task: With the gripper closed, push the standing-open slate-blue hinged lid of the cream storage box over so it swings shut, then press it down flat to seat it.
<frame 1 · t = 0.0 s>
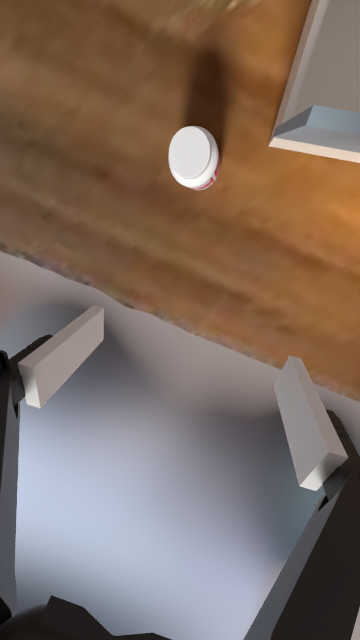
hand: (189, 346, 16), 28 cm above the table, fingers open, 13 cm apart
pill bottle: (200, 167, 34), on the table
box: (358, 76, 27), on the table
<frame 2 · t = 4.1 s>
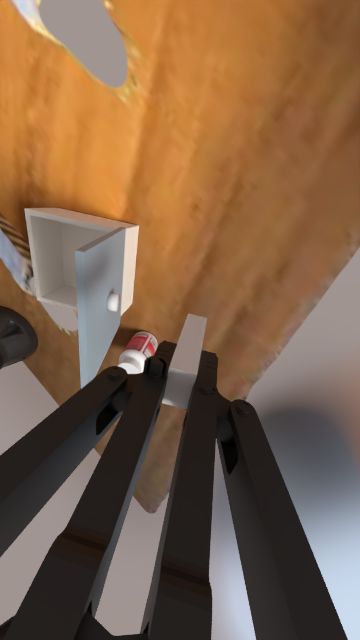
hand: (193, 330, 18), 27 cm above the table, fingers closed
pill bottle: (145, 341, 53), on the table
lid: (110, 301, 30), point 16 cm above the table, hinge at 100.0°
box: (97, 259, 45), on the table
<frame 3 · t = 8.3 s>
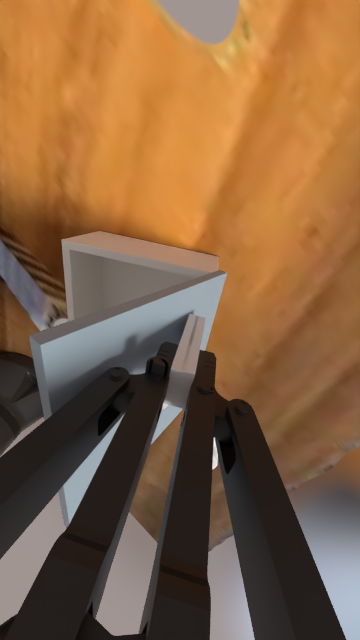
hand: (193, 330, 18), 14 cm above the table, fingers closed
lid: (160, 389, 18), point 16 cm above the table, hinge at 64.7°, touching gripper
box: (151, 299, 33), on the table
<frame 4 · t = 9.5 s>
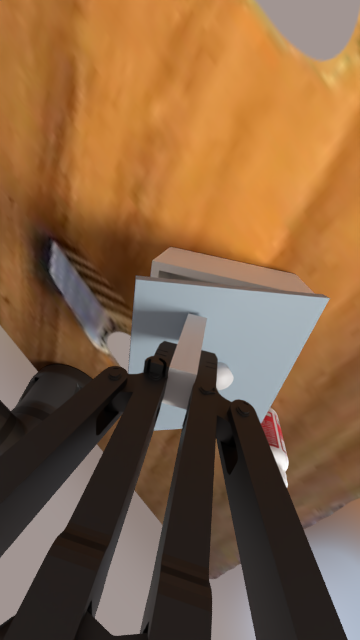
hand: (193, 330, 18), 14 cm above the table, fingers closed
pill bottle: (258, 414, 39), on the table
lid: (217, 373, 21), point 12 cm above the table, hinge at 21.6°, touching gripper
box: (215, 315, 32), on the table
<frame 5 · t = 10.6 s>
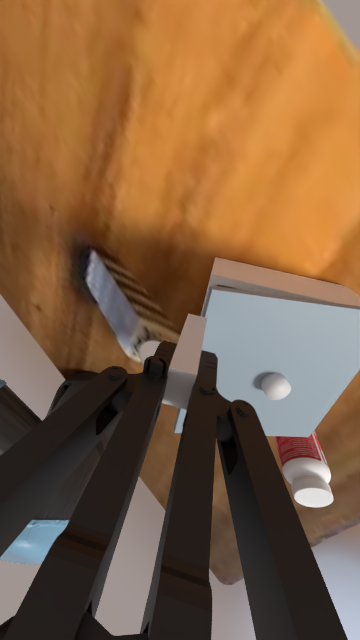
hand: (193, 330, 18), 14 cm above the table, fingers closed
pill bottle: (291, 424, 39), on the table
lid: (273, 383, 21), point 11 cm above the table, hinge at 15.7°
box: (256, 325, 32), on the table
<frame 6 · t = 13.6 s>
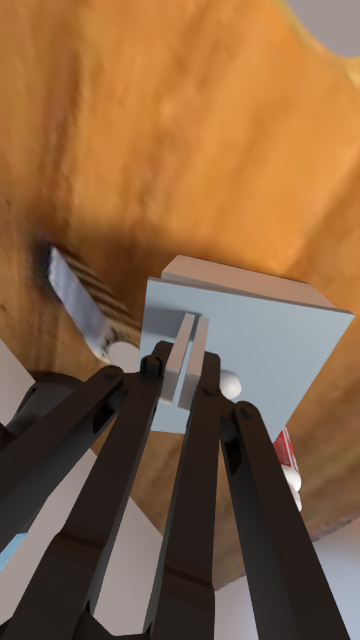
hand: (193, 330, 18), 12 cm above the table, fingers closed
pill bottle: (266, 428, 38), on the table
lid: (225, 381, 21), point 11 cm above the table, hinge at 11.1°, touching gripper
box: (224, 326, 30), on the table
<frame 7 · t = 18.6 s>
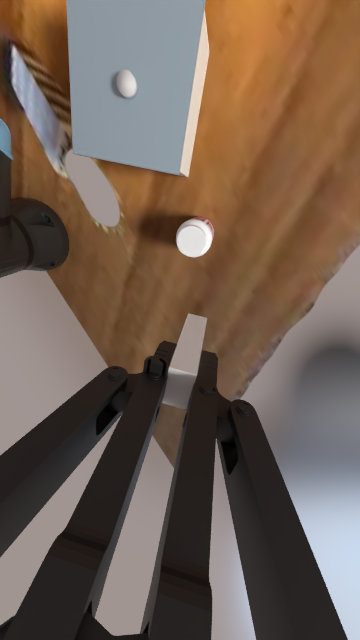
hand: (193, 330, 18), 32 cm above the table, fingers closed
pill bottle: (198, 233, 45), on the table
lid: (128, 86, 29), point 10 cm above the table, hinge at 1.8°
box: (151, 112, 38), on the table
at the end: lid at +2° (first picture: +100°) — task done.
